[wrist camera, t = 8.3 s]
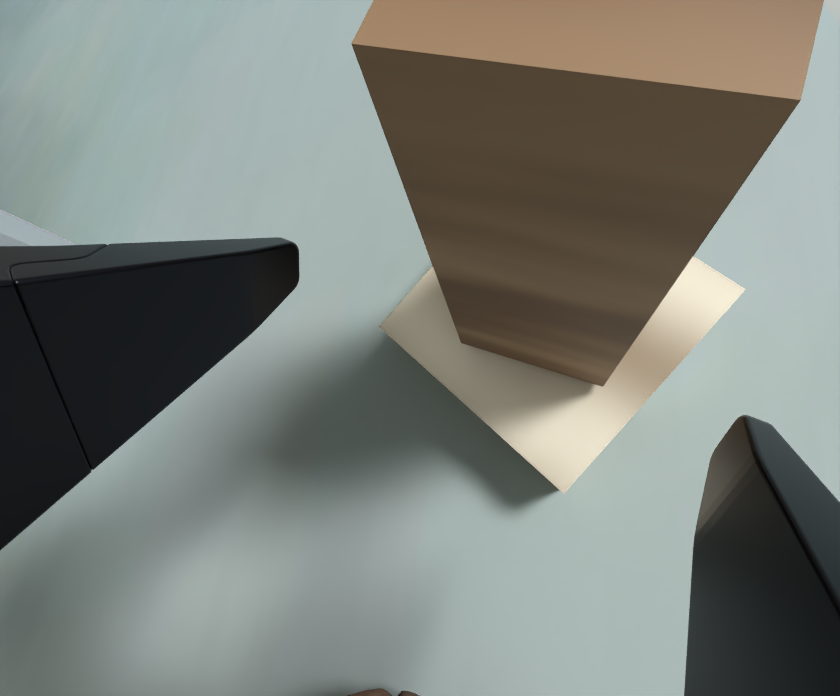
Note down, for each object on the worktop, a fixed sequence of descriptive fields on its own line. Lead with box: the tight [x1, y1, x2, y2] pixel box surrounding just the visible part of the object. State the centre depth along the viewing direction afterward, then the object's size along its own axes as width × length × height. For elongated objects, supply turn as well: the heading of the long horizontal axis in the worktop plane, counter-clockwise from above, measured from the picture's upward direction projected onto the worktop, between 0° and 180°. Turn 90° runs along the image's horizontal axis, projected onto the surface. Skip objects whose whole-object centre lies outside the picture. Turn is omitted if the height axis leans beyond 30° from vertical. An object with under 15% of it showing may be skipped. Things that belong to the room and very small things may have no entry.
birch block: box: [379, 257, 745, 493], centre depth 19 cm, size 9×9×3 cm
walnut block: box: [352, 0, 824, 387], centre depth 11 cm, size 4×5×12 cm
